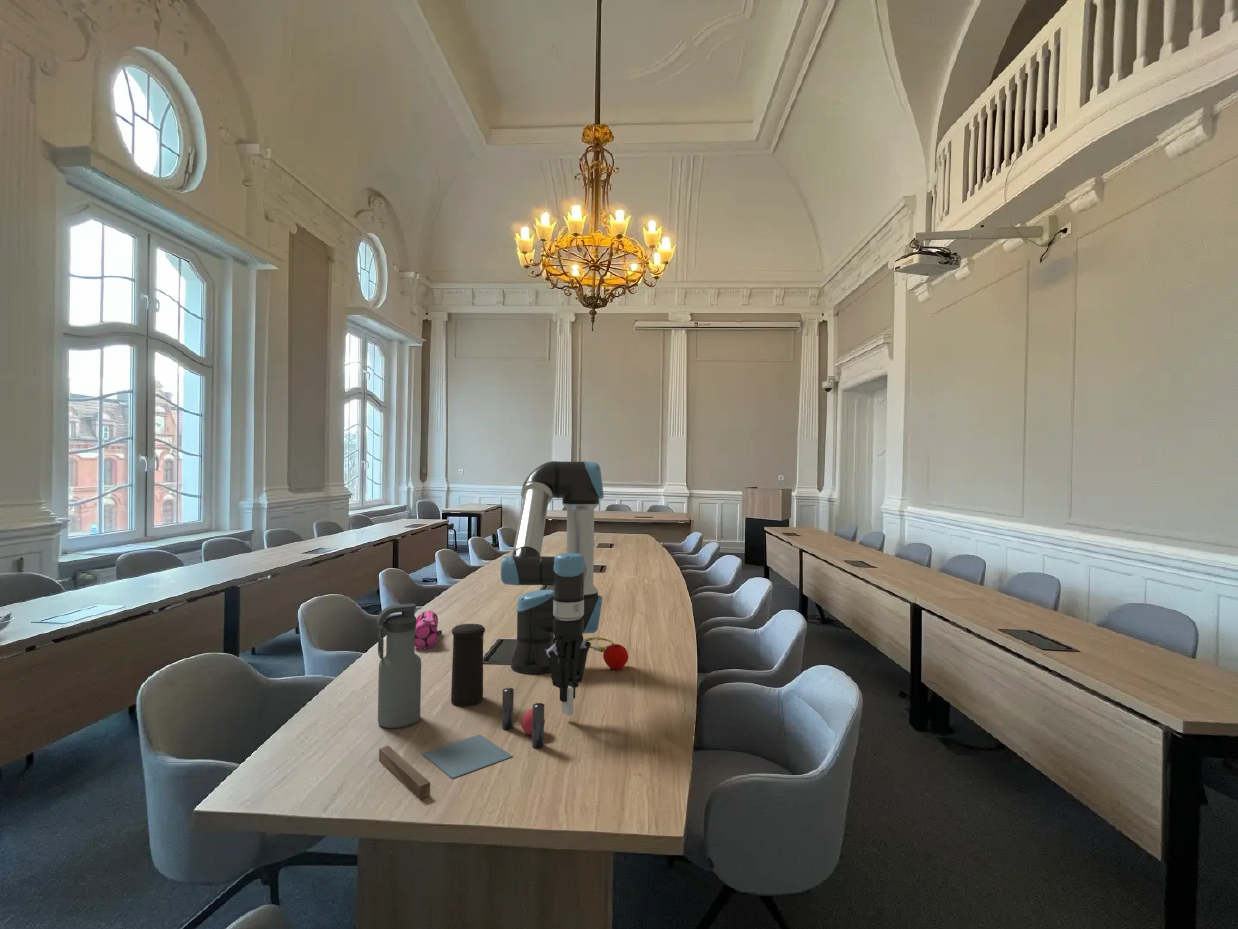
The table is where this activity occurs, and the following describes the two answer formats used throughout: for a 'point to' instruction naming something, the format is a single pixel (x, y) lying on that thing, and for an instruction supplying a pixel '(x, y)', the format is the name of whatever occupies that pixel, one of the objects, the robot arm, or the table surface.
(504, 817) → the table surface
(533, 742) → the post
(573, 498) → the robot arm
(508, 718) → the post
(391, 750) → the wall
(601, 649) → the yellow cable loop
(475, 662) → the container
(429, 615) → the pencil case
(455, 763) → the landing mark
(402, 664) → the water bottle
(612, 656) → the apple
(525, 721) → the ball
